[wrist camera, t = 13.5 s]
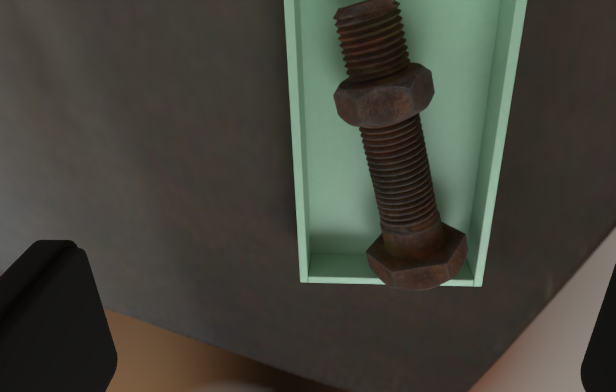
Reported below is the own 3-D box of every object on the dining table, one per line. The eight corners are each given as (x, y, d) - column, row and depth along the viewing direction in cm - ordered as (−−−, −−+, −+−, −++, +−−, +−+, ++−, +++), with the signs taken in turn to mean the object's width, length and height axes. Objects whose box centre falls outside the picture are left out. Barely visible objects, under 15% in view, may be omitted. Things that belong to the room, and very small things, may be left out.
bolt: (377, -9, 26) (424, 230, 32) (293, 19, 25) (358, 262, 31) (447, -20, 21) (487, 266, 27) (346, 14, 20) (412, 307, 26)
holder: (304, 255, 33) (300, 282, 30) (289, -40, 25) (281, -37, 22) (471, 257, 32) (481, 286, 29) (515, -50, 23) (535, -48, 21)
